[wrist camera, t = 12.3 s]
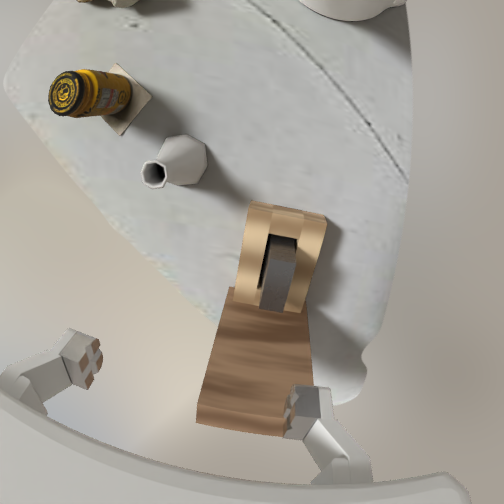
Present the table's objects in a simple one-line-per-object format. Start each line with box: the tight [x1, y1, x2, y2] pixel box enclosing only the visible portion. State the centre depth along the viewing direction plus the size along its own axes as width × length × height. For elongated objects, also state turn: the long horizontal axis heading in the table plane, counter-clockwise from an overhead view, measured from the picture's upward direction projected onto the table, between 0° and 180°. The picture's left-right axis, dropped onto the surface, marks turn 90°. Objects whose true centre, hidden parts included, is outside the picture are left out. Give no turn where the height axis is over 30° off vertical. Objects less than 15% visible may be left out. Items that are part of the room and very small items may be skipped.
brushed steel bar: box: [259, 234, 296, 313], centre depth 39 cm, size 7×3×9 cm, turn 170°
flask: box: [141, 134, 208, 189], centre depth 34 cm, size 7×7×10 cm
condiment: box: [48, 63, 152, 136], centre depth 29 cm, size 7×8×12 cm
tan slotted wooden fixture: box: [196, 201, 327, 437], centre depth 34 cm, size 18×12×22 cm, turn 170°
